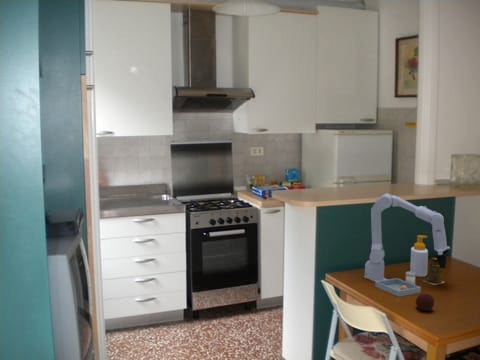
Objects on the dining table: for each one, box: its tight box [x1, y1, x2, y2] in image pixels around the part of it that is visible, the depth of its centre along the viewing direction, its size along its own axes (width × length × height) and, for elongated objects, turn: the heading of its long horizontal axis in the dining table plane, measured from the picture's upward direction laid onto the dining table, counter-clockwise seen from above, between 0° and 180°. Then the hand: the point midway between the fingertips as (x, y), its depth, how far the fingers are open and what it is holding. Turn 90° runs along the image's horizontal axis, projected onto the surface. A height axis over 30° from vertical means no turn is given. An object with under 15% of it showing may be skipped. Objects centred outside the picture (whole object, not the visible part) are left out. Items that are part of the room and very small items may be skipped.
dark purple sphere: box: [415, 293, 435, 312], centre depth 210 cm, size 7×8×7 cm
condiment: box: [423, 256, 446, 286], centre depth 248 cm, size 7×8×12 cm
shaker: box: [405, 270, 417, 285], centre depth 242 cm, size 5×5×6 cm
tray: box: [374, 277, 422, 298], centre depth 235 cm, size 16×14×3 cm
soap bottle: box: [409, 234, 429, 278], centre depth 261 cm, size 13×8×20 cm, turn 171°
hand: (443, 266), depth 239 cm, fingers open, 7 cm apart
